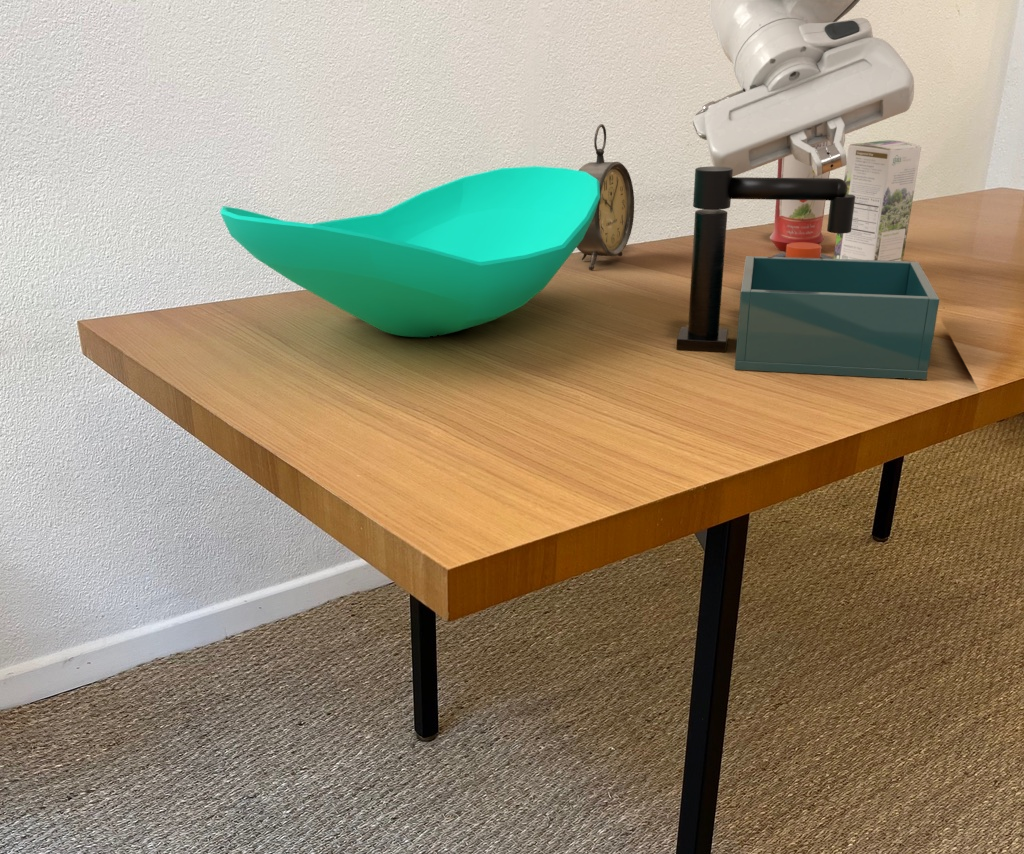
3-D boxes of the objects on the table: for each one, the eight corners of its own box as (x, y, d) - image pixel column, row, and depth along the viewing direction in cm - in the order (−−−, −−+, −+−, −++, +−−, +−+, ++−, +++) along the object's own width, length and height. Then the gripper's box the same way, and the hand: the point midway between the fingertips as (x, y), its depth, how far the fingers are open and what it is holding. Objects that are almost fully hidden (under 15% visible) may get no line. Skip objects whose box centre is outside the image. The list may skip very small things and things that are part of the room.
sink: (907, 333, 100) (918, 261, 97) (926, 380, 87) (939, 299, 84) (740, 325, 103) (745, 255, 100) (734, 369, 90) (740, 291, 87)
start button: (819, 259, 113) (821, 242, 113) (820, 266, 110) (822, 249, 110) (785, 258, 114) (786, 241, 113) (785, 264, 111) (786, 248, 110)
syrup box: (861, 264, 127) (877, 138, 121) (903, 273, 123) (922, 142, 117) (831, 271, 124) (846, 142, 118) (873, 280, 120) (891, 146, 114)
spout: (691, 231, 92) (694, 170, 89) (692, 225, 94) (695, 166, 92) (852, 235, 89) (860, 172, 87) (848, 228, 92) (856, 167, 90)
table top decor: (350, 409, 82) (336, 236, 76) (175, 342, 100) (153, 198, 94) (664, 314, 107) (671, 179, 101) (479, 274, 125) (476, 158, 119)
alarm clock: (599, 273, 125) (602, 129, 118) (558, 269, 127) (559, 127, 120) (635, 256, 133) (640, 120, 126) (596, 252, 136) (599, 119, 129)
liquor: (821, 243, 139) (847, 10, 128) (828, 254, 133) (856, 10, 121) (764, 242, 140) (785, 11, 129) (769, 253, 134) (791, 10, 122)
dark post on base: (727, 339, 99) (737, 208, 94) (725, 352, 95) (735, 216, 90) (680, 336, 100) (687, 206, 94) (676, 349, 96) (683, 215, 91)
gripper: (683, 89, 107) (723, 182, 100) (882, 10, 104) (938, 101, 97) (692, 135, 112) (731, 226, 105) (881, 62, 109) (934, 151, 102)
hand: (831, 166), depth 101 cm, fingers closed
